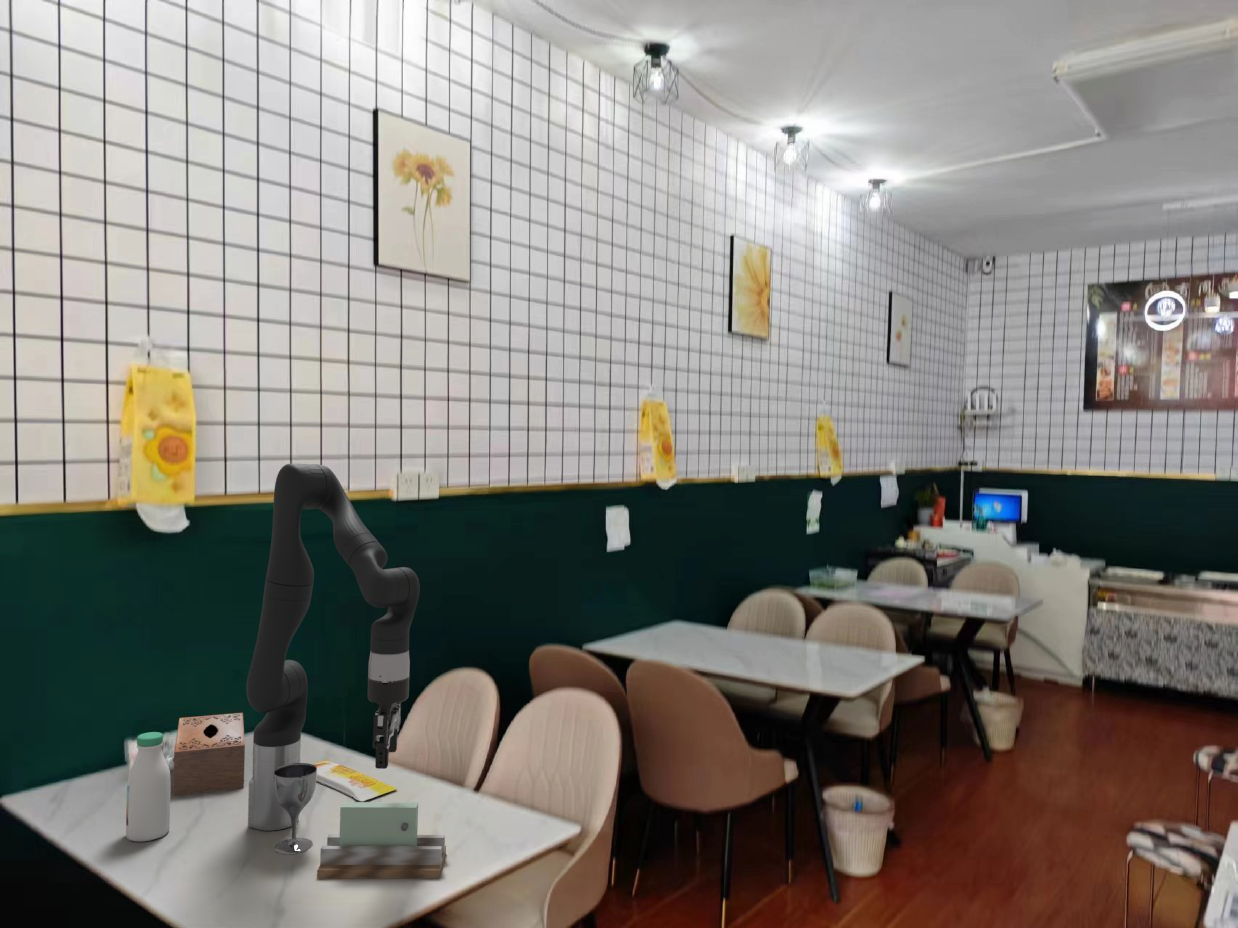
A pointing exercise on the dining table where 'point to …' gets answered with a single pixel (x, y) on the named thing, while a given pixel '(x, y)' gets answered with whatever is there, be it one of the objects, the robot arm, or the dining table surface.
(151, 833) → the milk bottle
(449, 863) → the dining table surface
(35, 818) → the dining table surface
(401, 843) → the door panel
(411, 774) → the dining table surface
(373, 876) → the door track
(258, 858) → the dining table surface
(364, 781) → the food package
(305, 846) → the wine glass
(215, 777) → the tissue box cover
